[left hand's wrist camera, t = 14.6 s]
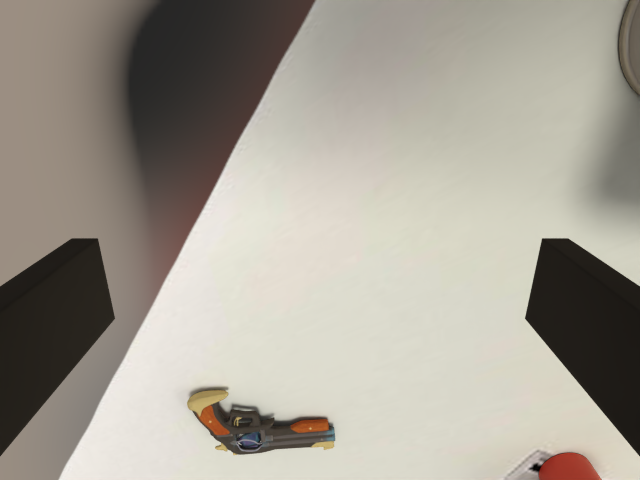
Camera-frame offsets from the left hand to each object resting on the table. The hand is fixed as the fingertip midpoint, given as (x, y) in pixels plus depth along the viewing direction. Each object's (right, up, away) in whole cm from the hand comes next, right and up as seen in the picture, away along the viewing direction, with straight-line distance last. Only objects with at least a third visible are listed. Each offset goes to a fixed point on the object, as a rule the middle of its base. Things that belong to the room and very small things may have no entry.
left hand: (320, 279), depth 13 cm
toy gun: (-8, -23, +44) cm, 50 cm away
